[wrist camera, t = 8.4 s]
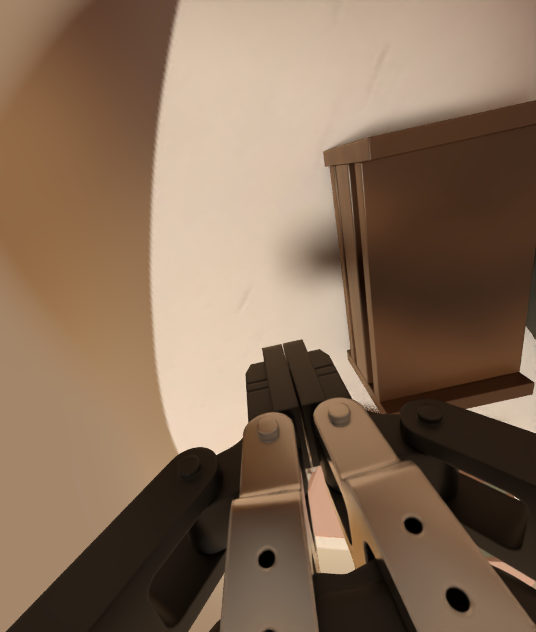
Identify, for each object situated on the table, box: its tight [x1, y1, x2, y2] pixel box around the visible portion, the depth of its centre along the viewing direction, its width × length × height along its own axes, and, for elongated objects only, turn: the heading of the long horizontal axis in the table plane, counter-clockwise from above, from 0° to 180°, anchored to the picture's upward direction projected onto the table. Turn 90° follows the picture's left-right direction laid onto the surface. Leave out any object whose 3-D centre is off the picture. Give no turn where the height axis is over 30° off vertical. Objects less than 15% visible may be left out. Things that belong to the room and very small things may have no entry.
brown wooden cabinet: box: [323, 100, 536, 414], centre depth 18 cm, size 14×8×7 cm, turn 11°
